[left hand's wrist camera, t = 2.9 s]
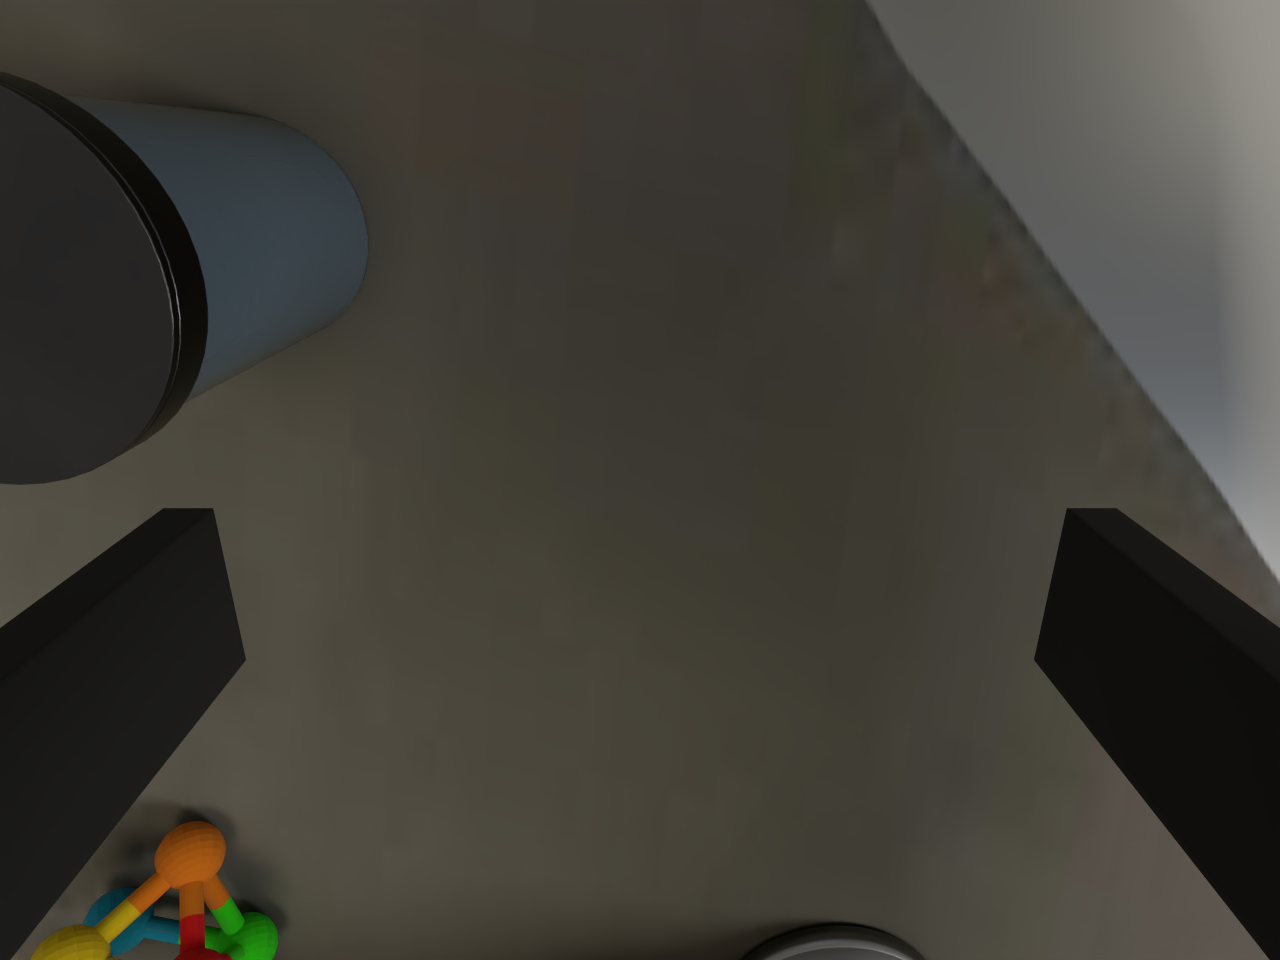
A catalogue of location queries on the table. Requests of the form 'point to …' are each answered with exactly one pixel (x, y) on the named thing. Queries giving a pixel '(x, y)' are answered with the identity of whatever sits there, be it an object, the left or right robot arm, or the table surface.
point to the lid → (87, 292)
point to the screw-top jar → (251, 224)
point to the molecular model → (127, 917)
